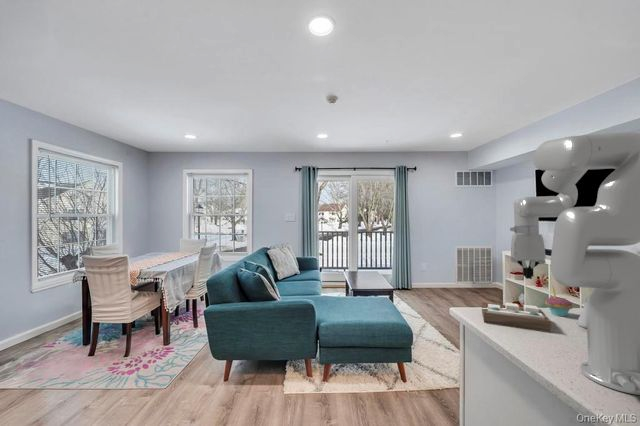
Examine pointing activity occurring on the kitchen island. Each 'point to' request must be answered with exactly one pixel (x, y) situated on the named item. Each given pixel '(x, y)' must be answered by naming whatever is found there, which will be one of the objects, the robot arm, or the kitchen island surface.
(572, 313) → the kitchen island surface
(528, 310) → the button right
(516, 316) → the board
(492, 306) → the white square block
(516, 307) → the button mid
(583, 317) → the flask
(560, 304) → the cupcake
